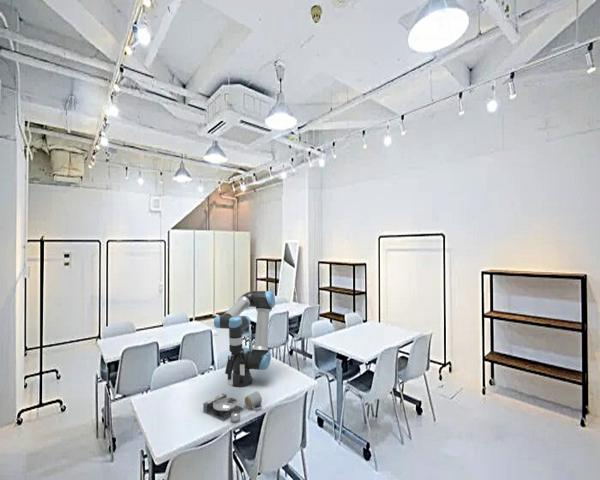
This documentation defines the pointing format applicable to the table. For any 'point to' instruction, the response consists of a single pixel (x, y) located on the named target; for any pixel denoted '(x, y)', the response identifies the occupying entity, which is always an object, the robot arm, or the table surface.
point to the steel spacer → (235, 416)
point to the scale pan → (224, 404)
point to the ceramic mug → (253, 400)
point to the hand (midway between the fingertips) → (236, 379)
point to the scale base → (219, 414)
